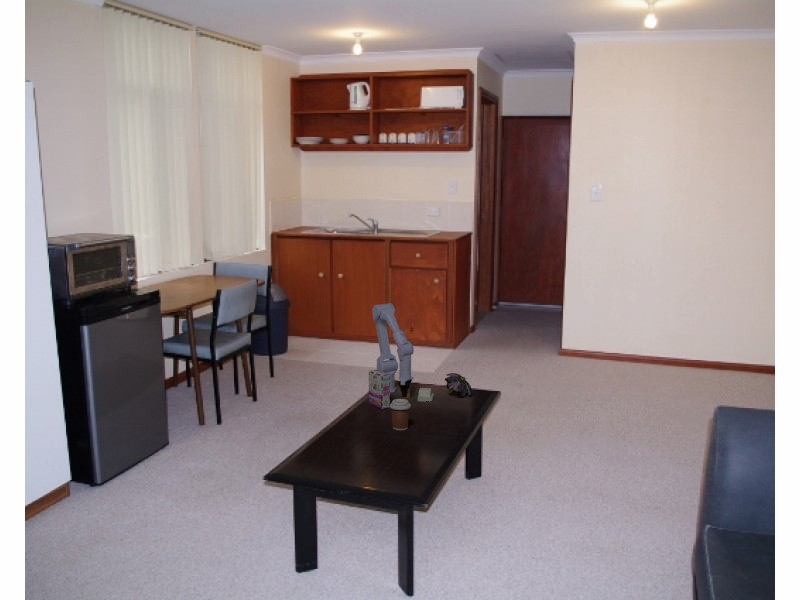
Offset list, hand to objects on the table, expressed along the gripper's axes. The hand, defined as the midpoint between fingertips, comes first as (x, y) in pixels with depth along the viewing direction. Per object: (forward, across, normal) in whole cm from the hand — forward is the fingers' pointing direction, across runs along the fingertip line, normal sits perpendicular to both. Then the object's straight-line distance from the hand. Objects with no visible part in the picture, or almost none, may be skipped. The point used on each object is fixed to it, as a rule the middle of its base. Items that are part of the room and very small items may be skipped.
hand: (405, 395), depth 352 cm
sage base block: (+2, 0, -10) cm, 10 cm away
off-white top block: (-1, 0, -10) cm, 10 cm away
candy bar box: (+2, -14, +10) cm, 17 cm away
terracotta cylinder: (+1, 0, 0) cm, 1 cm away
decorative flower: (+2, +9, -25) cm, 27 cm away
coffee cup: (+2, -42, -5) cm, 42 cm away
